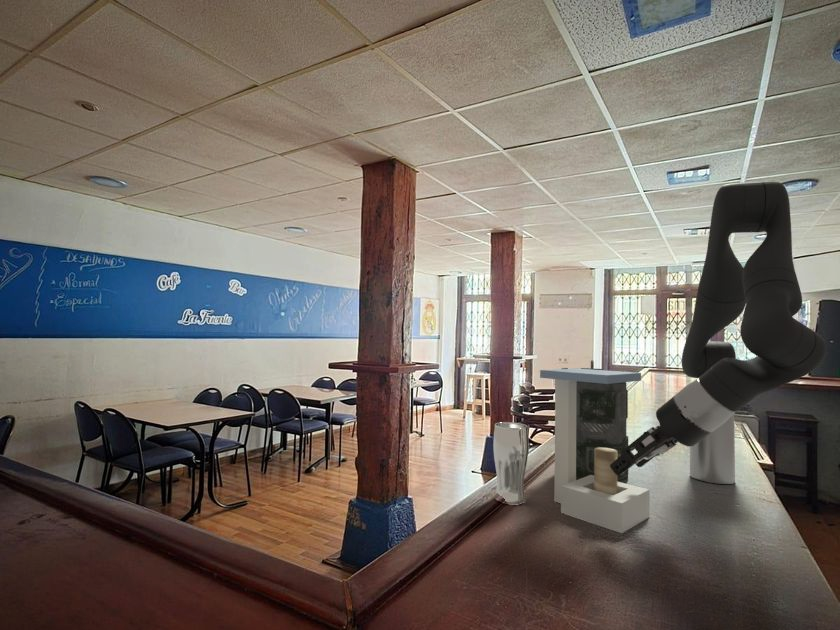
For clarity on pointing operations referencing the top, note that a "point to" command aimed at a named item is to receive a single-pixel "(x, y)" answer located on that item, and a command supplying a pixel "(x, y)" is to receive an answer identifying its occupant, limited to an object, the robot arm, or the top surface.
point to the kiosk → (568, 491)
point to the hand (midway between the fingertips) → (625, 466)
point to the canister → (600, 422)
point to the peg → (605, 470)
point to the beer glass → (510, 460)
